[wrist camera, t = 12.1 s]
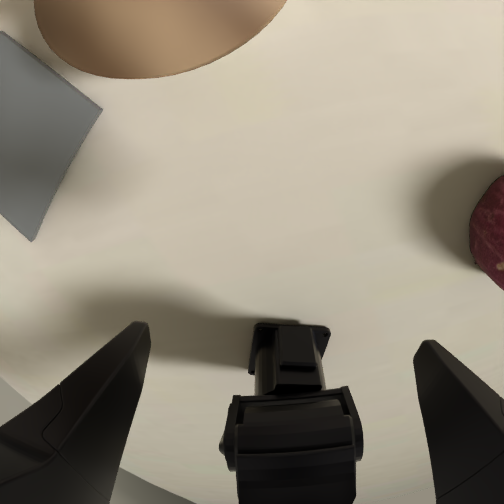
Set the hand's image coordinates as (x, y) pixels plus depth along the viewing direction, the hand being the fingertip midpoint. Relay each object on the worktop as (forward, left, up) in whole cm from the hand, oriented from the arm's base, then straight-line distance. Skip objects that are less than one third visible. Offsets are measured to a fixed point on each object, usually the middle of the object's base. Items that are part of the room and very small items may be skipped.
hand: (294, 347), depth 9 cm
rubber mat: (+4, +21, -13) cm, 25 cm away
